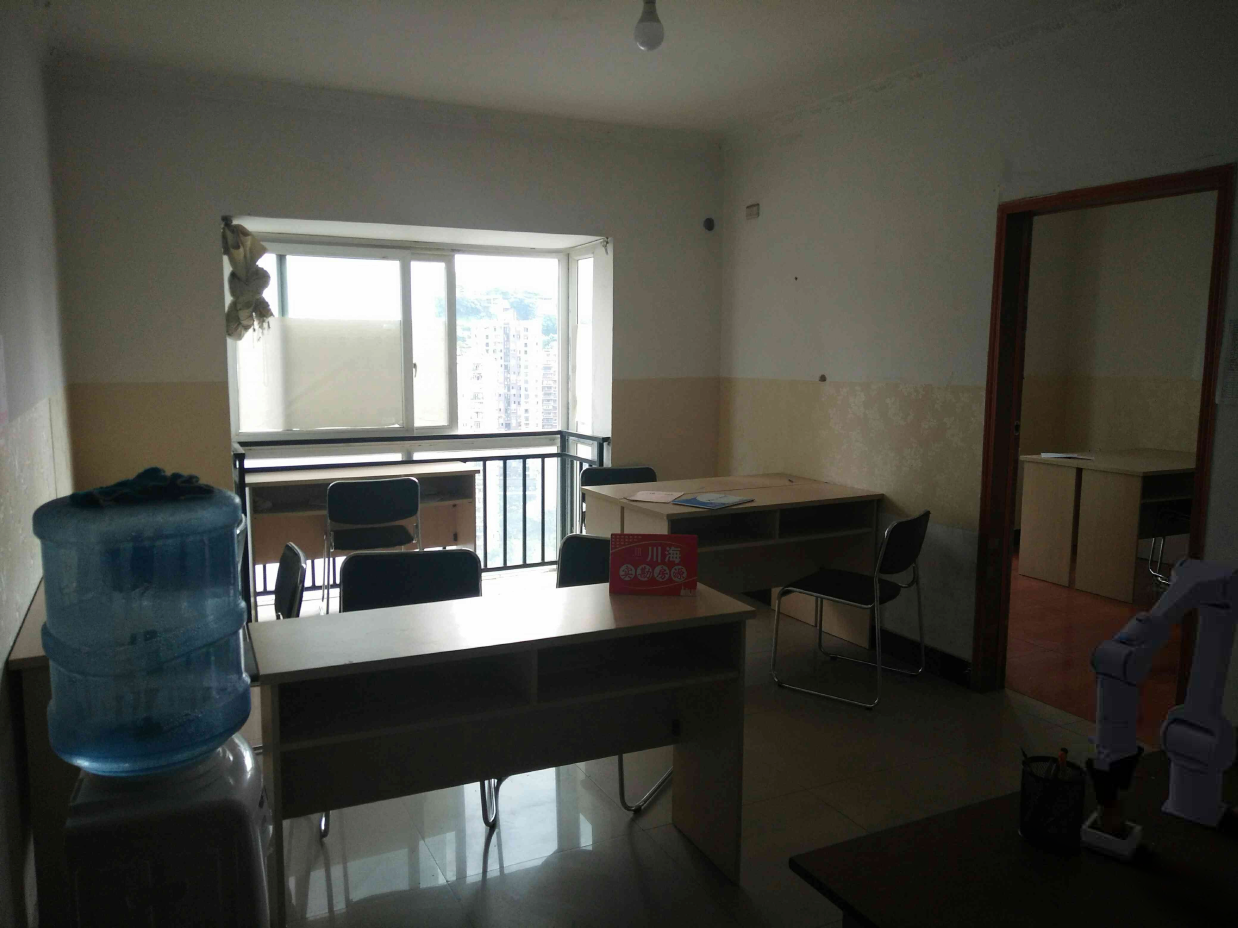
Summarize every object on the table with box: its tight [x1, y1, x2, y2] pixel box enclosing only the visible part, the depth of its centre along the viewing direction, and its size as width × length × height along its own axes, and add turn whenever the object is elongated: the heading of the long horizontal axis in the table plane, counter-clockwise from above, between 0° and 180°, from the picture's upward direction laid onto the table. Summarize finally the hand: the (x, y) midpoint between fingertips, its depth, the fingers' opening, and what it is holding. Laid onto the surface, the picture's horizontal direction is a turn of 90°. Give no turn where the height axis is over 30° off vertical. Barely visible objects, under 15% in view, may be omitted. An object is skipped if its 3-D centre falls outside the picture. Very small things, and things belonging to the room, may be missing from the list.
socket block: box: [1080, 811, 1143, 863], centre depth 140 cm, size 7×7×3 cm
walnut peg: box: [1097, 792, 1127, 840], centre depth 140 cm, size 4×4×7 cm
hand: (1113, 796), depth 139 cm, fingers open, 7 cm apart
